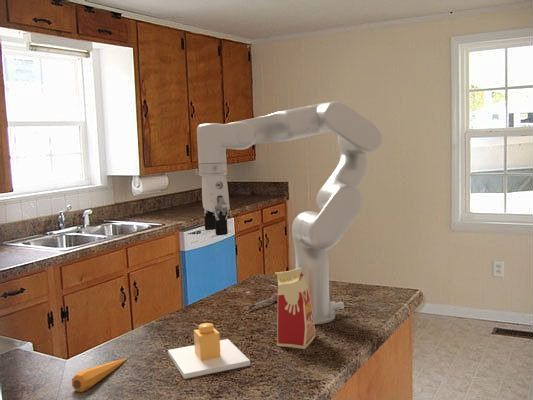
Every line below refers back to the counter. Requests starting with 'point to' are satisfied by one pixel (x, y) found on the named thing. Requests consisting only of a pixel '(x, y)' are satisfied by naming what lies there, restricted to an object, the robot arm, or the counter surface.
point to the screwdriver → (274, 298)
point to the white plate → (195, 367)
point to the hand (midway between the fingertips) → (216, 232)
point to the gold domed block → (207, 342)
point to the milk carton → (294, 311)
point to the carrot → (93, 375)
